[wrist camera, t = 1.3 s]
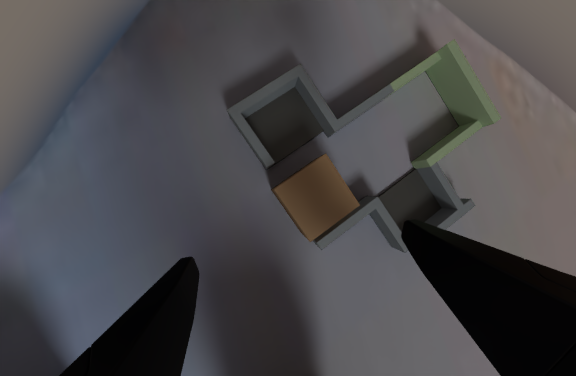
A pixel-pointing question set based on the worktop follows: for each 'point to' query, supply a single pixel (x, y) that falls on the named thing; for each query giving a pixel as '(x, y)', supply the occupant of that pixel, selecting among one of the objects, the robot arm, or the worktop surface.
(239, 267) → the worktop surface
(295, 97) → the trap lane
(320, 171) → the walnut block
